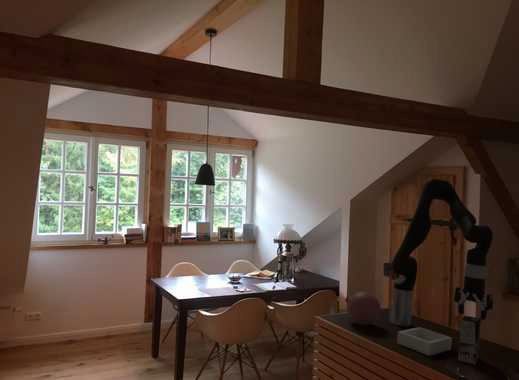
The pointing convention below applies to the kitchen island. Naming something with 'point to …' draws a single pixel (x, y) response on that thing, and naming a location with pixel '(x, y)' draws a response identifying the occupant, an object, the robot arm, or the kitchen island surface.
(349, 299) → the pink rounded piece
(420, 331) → the carton dock
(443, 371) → the kitchen island surface
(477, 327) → the coffee box
